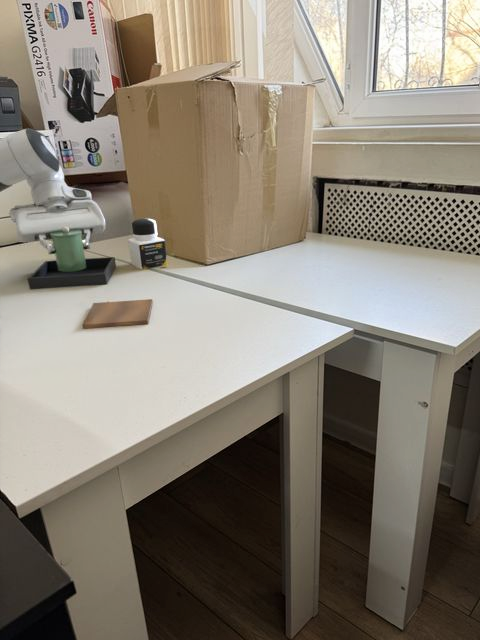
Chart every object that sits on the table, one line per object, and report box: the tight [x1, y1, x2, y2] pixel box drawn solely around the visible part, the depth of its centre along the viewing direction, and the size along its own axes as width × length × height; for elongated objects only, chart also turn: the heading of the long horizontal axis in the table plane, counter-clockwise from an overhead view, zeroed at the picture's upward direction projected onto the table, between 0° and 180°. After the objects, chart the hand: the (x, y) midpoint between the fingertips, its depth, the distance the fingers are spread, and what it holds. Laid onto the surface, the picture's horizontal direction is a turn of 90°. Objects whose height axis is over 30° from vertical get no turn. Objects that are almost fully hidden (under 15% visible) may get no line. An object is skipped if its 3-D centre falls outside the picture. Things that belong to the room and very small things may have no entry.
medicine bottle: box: [127, 218, 168, 270], centre depth 130 cm, size 7×7×12 cm
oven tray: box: [27, 256, 117, 290], centre depth 123 cm, size 17×15×3 cm
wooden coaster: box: [81, 298, 154, 329], centre depth 100 cm, size 12×12×1 cm
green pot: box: [50, 226, 87, 272], centre depth 120 cm, size 7×7×10 cm
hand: (69, 250), depth 120 cm, fingers closed on green pot, 6 cm apart
